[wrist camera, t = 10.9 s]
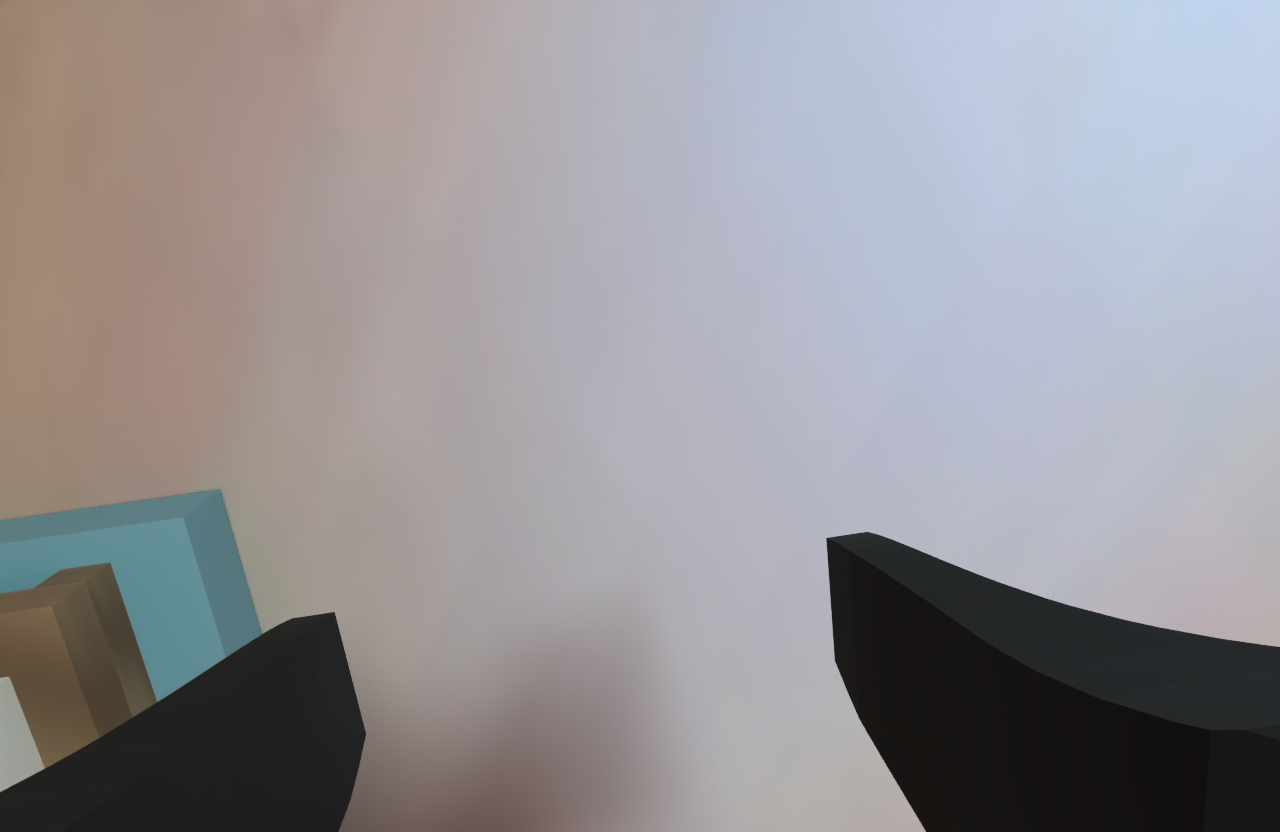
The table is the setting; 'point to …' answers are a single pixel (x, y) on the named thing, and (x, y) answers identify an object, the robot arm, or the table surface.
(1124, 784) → the robot arm
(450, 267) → the table surface
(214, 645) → the dock
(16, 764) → the block
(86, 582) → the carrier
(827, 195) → the table surface
